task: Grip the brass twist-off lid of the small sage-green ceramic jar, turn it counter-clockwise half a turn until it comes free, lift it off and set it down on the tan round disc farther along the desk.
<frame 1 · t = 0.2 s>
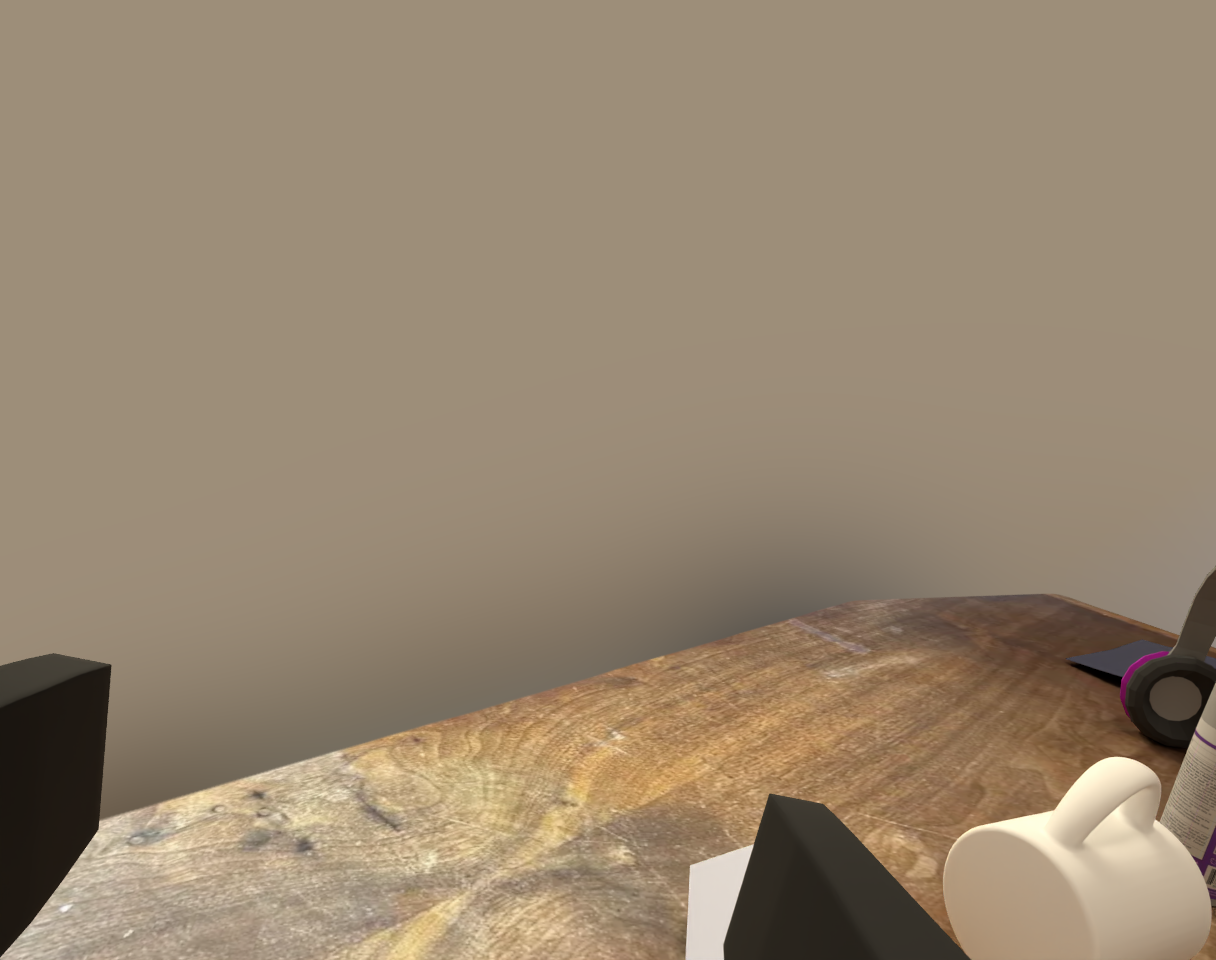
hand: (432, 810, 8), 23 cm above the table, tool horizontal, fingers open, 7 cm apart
container: (1184, 883, 52), on the table
headphones: (1194, 784, 67), on the table
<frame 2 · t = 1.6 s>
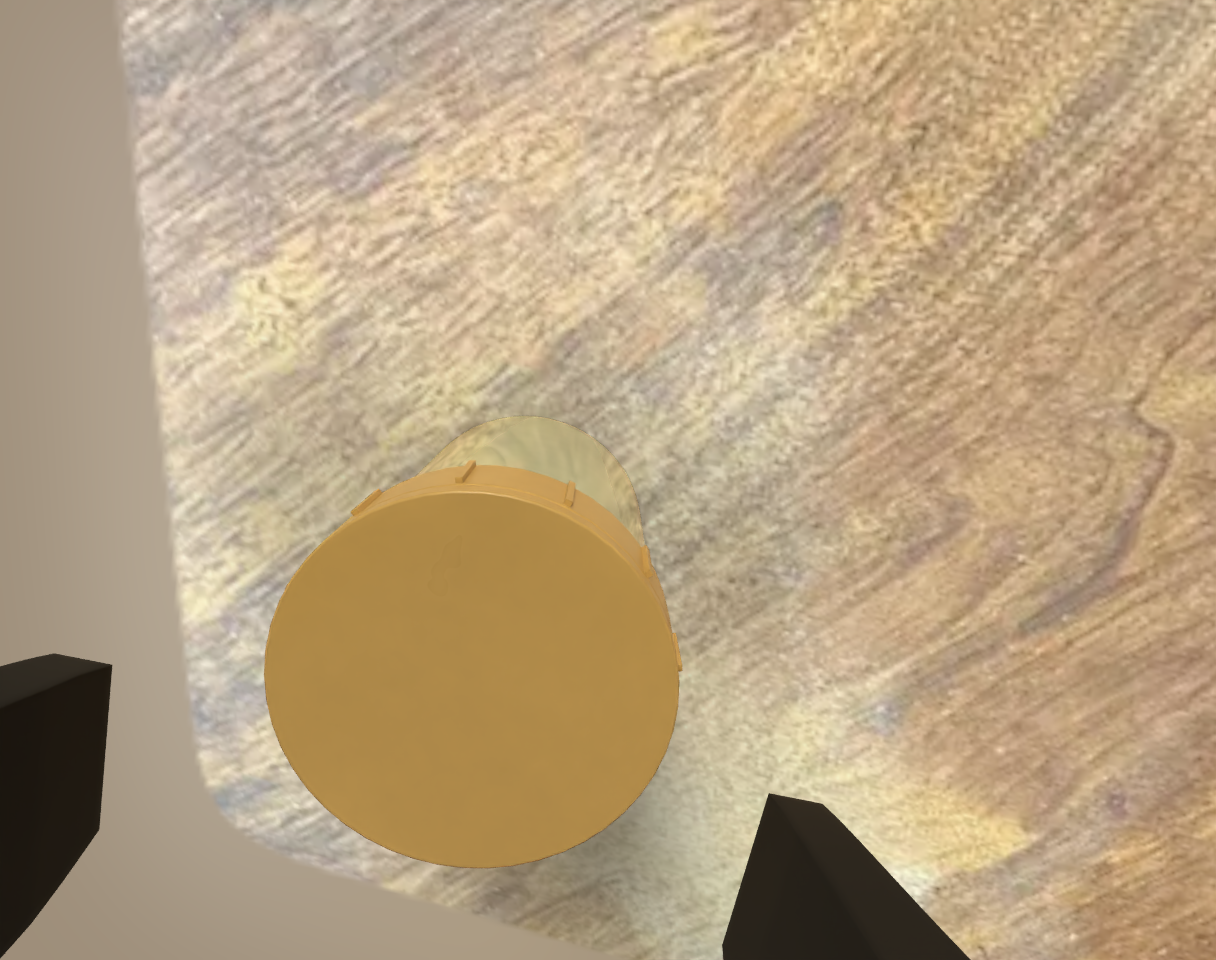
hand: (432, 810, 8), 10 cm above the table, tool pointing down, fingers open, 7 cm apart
lid: (475, 679, 11), point 7 cm above the table, screwed on, not yet turned
jar: (527, 527, 19), on the table
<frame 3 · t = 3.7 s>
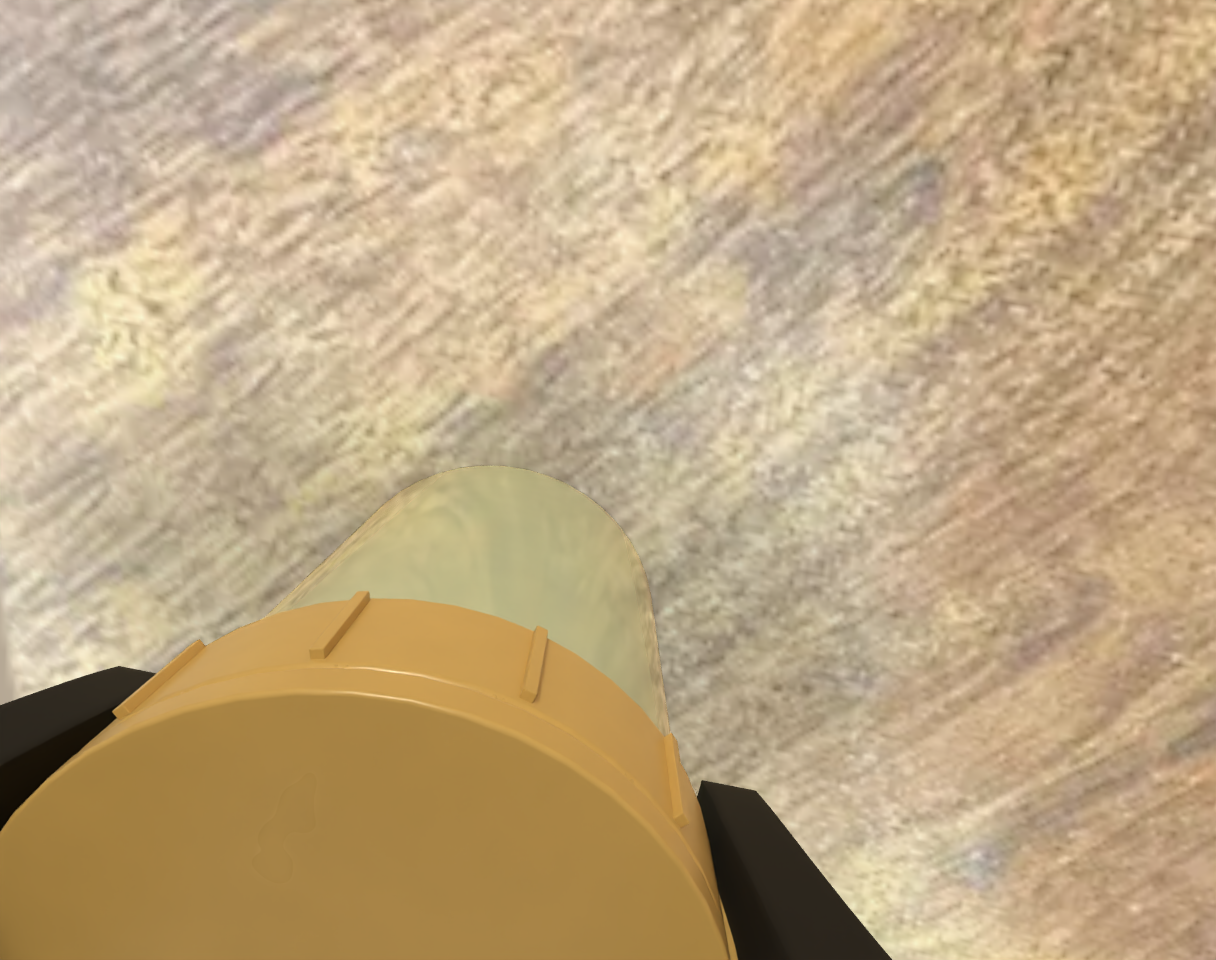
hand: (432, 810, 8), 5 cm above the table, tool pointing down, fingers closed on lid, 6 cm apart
jar: (495, 618, 13), on the table
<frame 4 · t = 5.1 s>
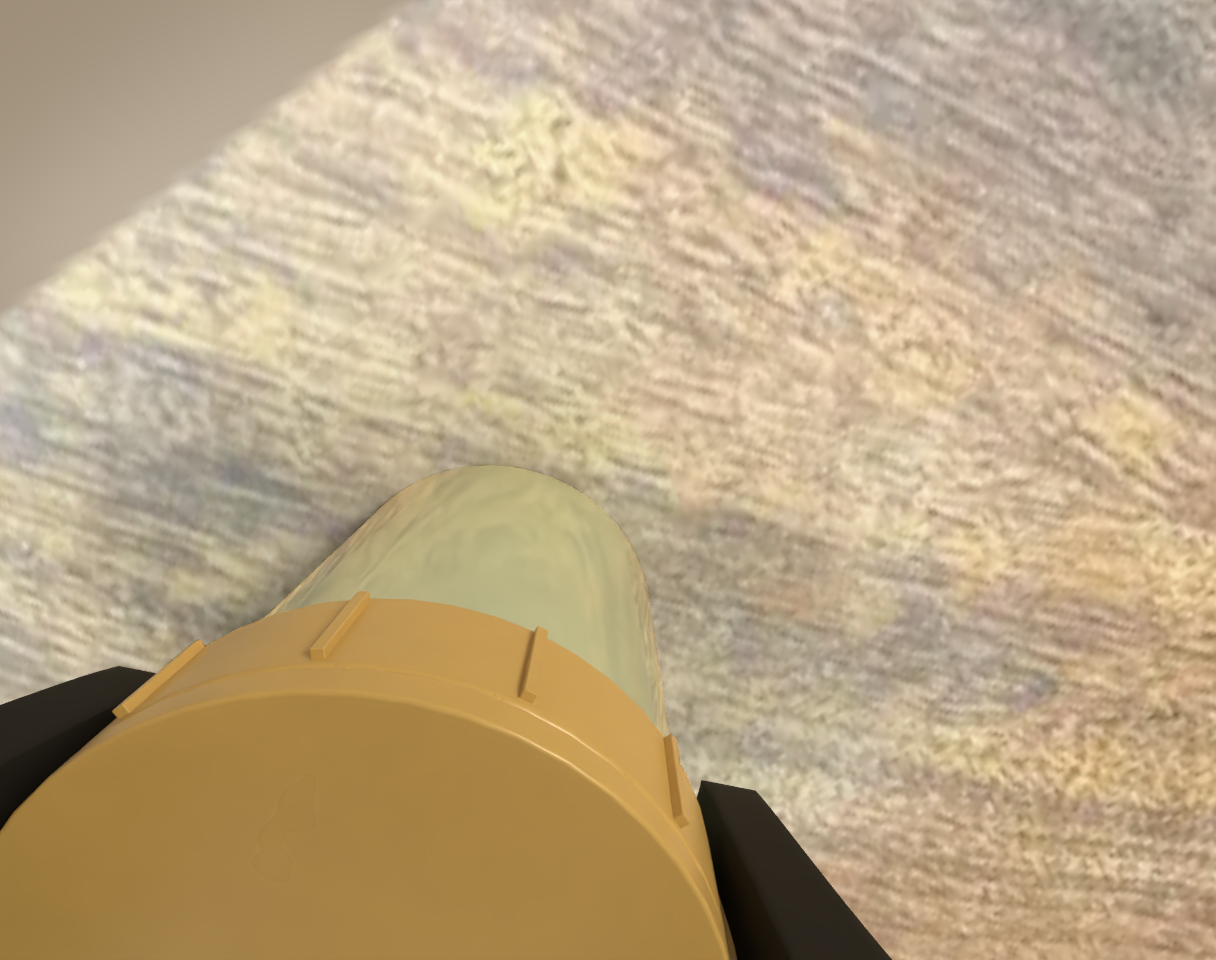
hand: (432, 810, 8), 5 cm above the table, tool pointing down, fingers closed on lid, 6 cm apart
jar: (494, 616, 14), on the table
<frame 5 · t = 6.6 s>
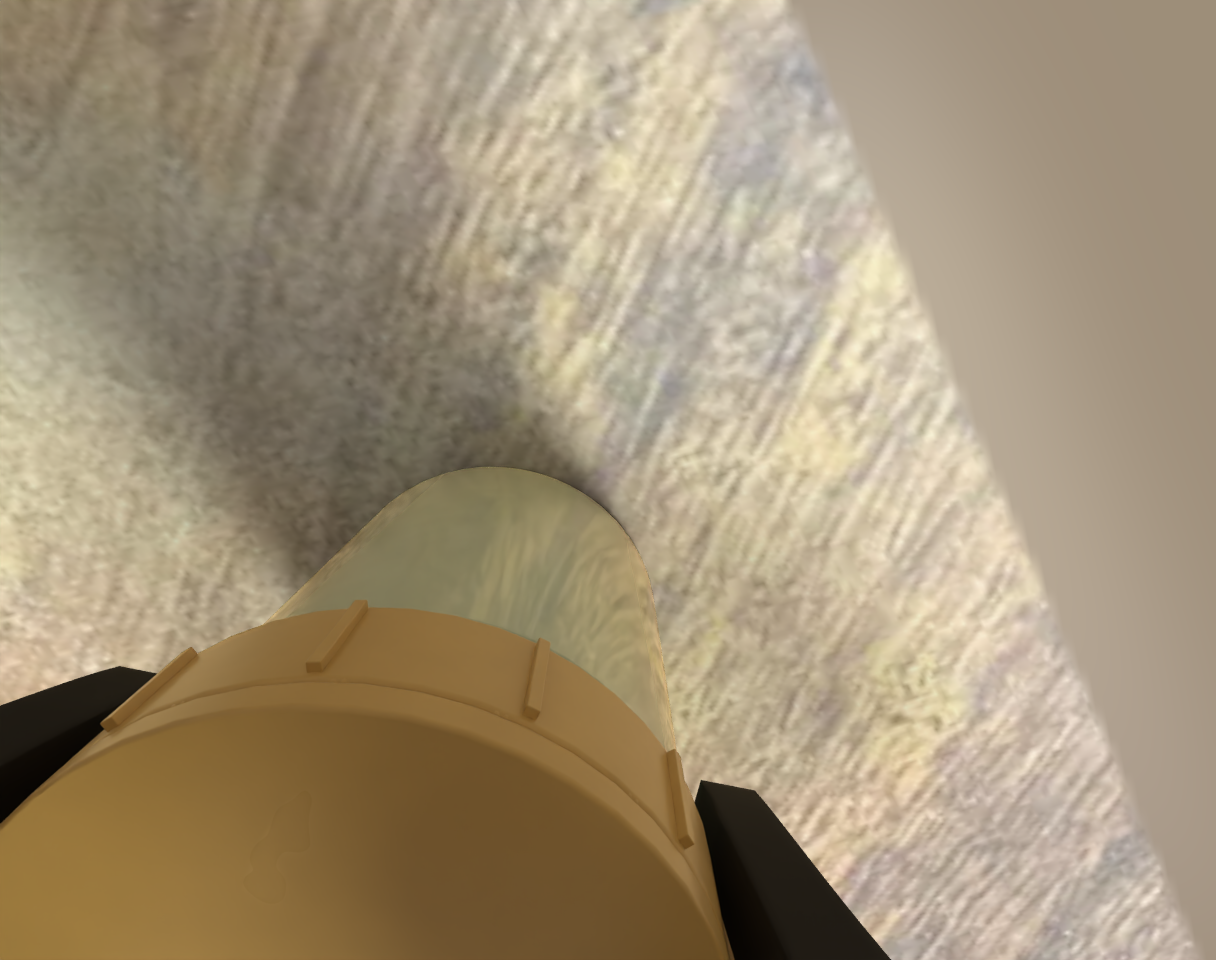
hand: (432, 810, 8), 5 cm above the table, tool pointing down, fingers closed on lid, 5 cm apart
jar: (497, 619, 13), on the table
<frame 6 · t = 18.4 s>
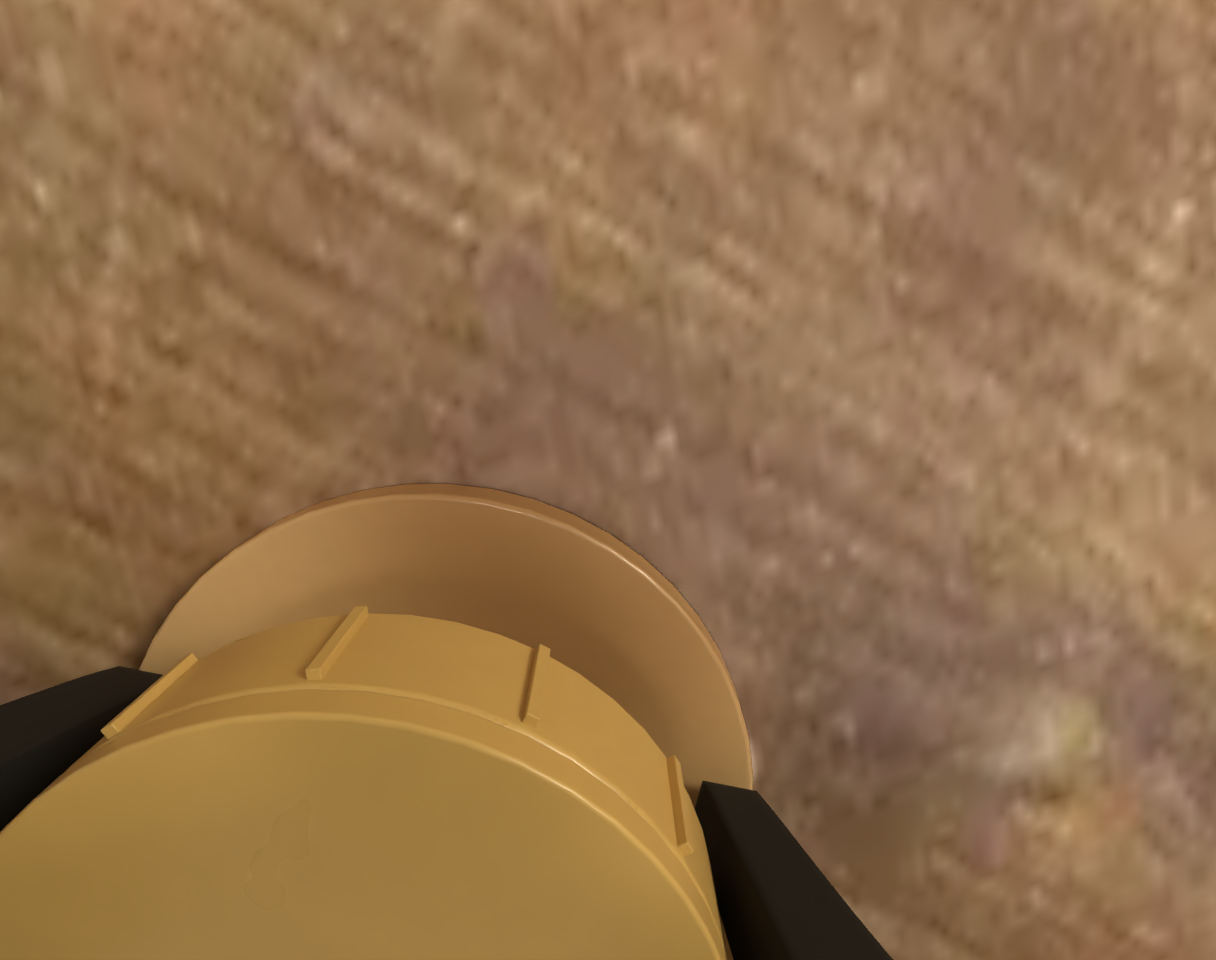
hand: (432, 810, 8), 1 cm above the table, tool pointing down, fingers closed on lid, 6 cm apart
tan round disc: (447, 772, 9), on the table
when the fingers open (3 cm above the table, at t = 28.7 s): lid drops 3 cm, resting on tan round disc.
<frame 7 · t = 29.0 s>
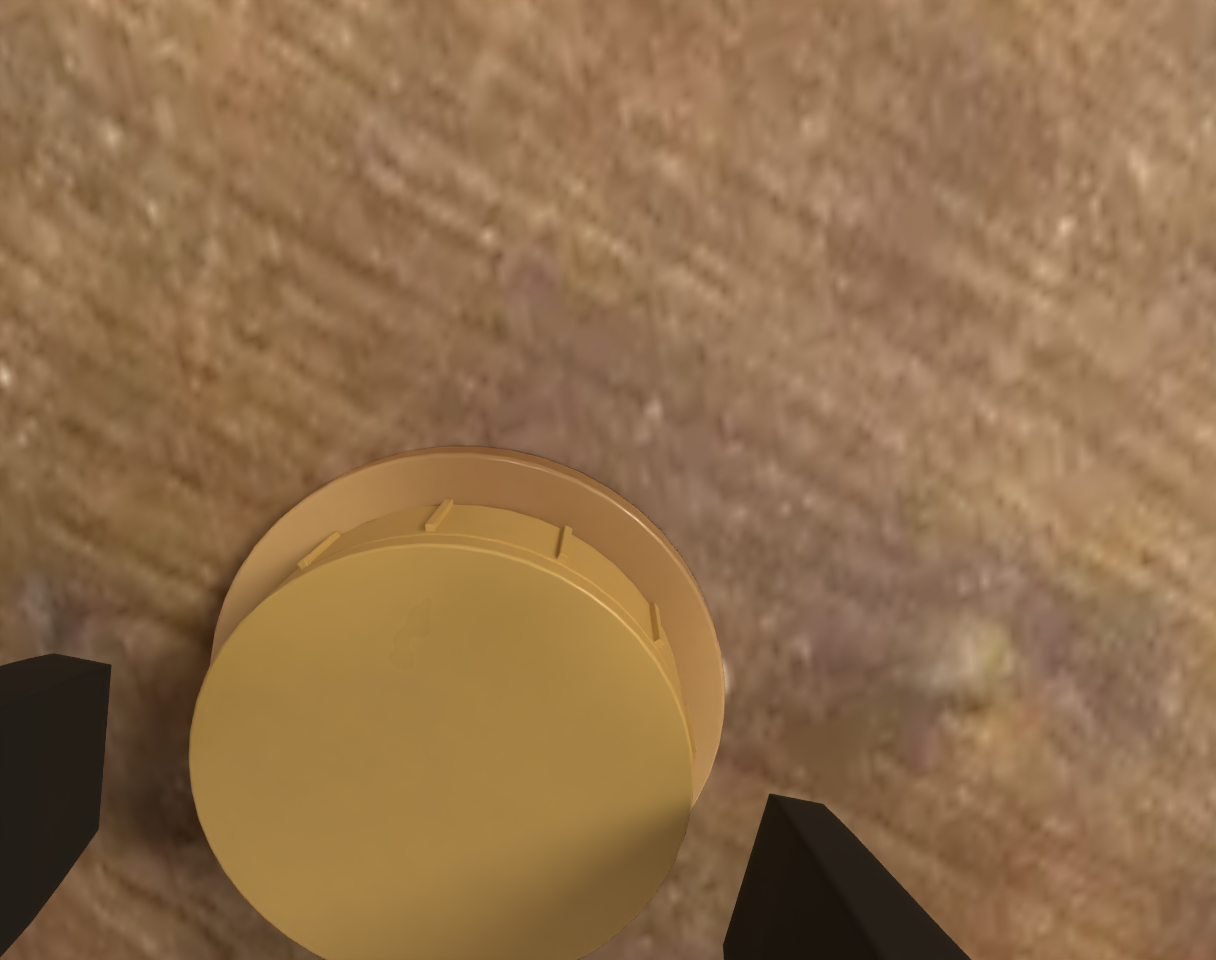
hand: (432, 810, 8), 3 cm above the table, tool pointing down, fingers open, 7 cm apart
lid: (447, 766, 9), point 2 cm above the table, off its thread, touching tan round disc
tan round disc: (473, 687, 11), on the table
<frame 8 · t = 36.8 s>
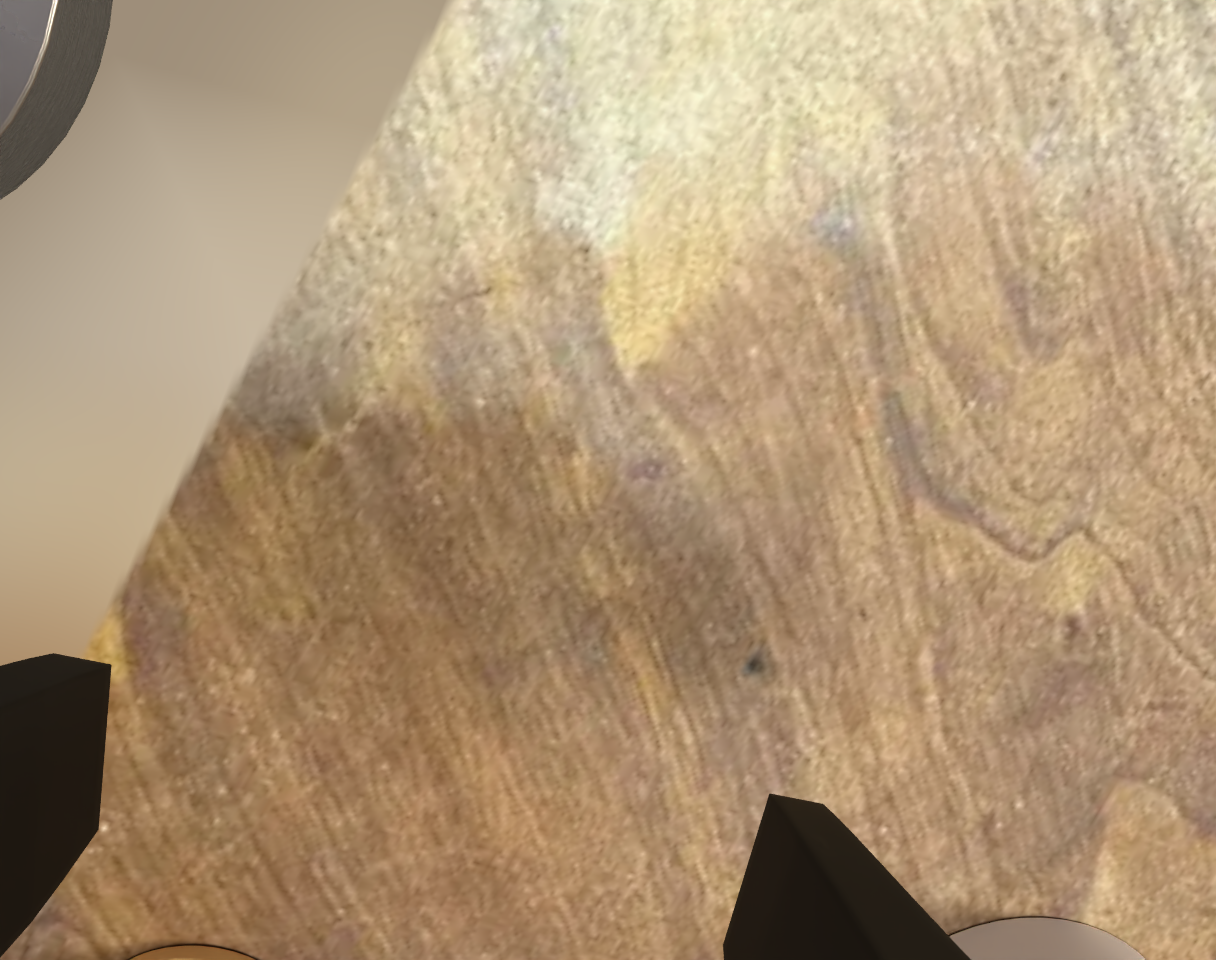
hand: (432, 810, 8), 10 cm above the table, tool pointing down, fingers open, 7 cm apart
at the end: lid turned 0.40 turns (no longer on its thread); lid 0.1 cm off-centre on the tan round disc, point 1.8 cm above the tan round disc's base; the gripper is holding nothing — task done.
